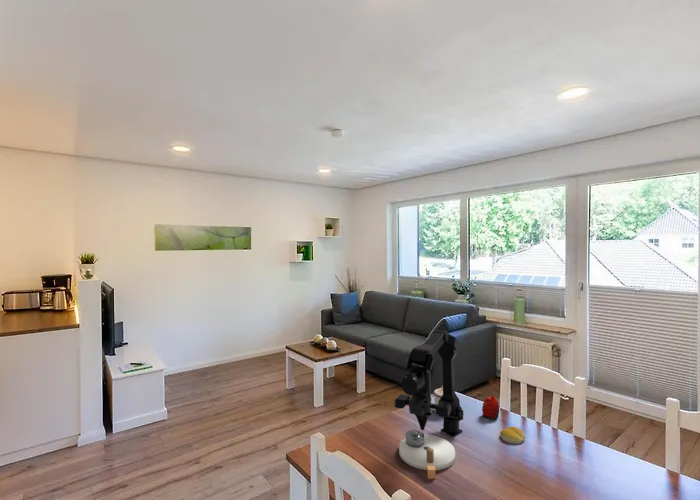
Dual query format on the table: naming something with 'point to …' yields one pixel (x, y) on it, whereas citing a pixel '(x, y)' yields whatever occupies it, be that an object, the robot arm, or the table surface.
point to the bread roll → (512, 435)
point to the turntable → (428, 453)
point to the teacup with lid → (437, 395)
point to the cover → (414, 438)
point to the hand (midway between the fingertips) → (422, 429)
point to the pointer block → (431, 472)
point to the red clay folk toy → (491, 407)
